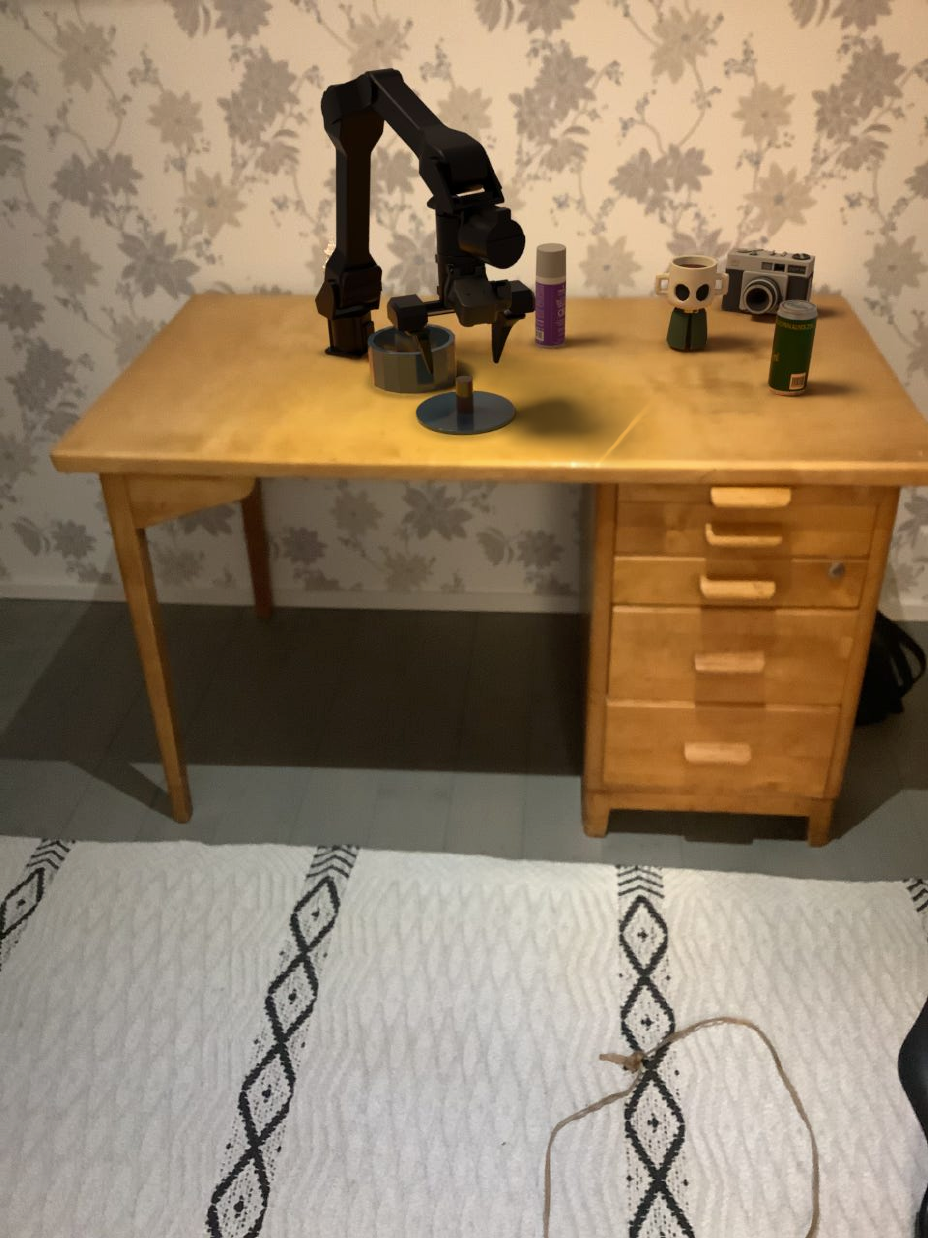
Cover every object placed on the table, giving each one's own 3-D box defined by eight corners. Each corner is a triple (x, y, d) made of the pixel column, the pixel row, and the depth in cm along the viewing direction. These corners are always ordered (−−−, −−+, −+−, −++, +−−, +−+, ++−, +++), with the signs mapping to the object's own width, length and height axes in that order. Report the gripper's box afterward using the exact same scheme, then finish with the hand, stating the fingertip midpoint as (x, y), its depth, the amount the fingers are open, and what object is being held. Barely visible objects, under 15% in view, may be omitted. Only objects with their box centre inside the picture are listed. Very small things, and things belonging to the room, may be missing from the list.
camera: (708, 314, 180) (716, 252, 175) (731, 300, 186) (739, 240, 181) (789, 329, 173) (800, 265, 168) (810, 314, 180) (820, 252, 174)
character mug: (651, 353, 167) (657, 268, 160) (650, 337, 173) (655, 254, 166) (723, 354, 166) (733, 268, 159) (720, 337, 172) (728, 254, 164)
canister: (355, 389, 160) (351, 347, 156) (397, 359, 169) (395, 318, 165) (431, 402, 155) (429, 359, 151) (470, 370, 164) (469, 329, 160)
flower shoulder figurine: (336, 299, 193) (329, 230, 186) (358, 300, 192) (352, 230, 185) (323, 317, 185) (315, 245, 179) (345, 317, 185) (338, 246, 178)
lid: (398, 428, 148) (395, 389, 145) (444, 391, 158) (442, 354, 155) (488, 445, 143) (487, 406, 140) (530, 406, 153) (530, 368, 149)
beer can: (814, 391, 153) (827, 307, 147) (783, 399, 152) (795, 315, 145) (789, 378, 157) (800, 296, 151) (759, 386, 156) (769, 303, 149)
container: (562, 349, 170) (564, 252, 161) (533, 348, 171) (533, 251, 162) (566, 338, 173) (568, 242, 165) (537, 337, 174) (538, 242, 166)
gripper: (405, 277, 129) (413, 401, 138) (552, 258, 133) (550, 378, 142) (381, 252, 137) (390, 370, 146) (520, 234, 142) (520, 349, 151)
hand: (463, 367), depth 146 cm, fingers open, 9 cm apart
